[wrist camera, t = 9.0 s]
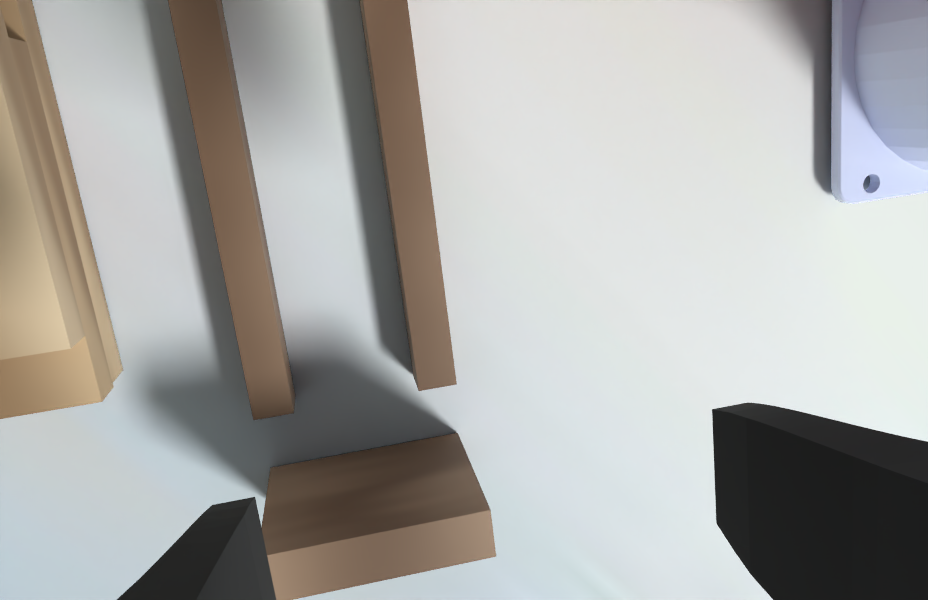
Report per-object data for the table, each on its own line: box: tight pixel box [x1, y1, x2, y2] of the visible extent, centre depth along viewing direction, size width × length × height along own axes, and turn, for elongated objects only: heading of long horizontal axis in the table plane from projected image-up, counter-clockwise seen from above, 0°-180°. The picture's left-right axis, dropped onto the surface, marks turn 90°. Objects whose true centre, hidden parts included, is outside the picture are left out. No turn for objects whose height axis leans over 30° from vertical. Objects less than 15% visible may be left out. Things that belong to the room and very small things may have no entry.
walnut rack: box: [168, 0, 496, 600], centre depth 17 cm, size 5×18×4 cm, turn 7°
